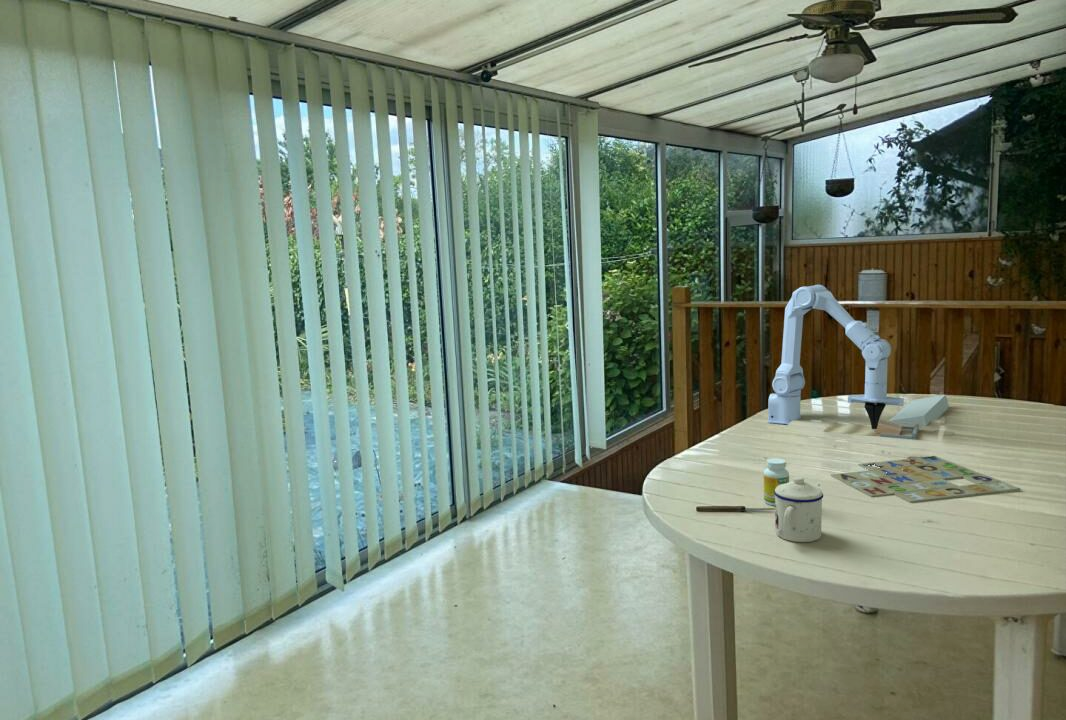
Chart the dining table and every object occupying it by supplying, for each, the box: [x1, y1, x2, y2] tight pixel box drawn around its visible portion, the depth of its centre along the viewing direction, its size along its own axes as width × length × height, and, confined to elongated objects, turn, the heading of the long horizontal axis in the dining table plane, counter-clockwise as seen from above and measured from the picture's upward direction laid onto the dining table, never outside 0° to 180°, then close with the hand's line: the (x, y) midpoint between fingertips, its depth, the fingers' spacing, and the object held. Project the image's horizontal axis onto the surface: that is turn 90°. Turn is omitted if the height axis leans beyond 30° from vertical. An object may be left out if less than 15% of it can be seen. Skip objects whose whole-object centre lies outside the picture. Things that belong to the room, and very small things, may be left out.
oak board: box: [823, 422, 880, 437], centre depth 218 cm, size 15×12×2 cm
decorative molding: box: [887, 394, 950, 427], centre depth 235 cm, size 34×5×10 cm
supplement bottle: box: [763, 457, 790, 507], centre depth 165 cm, size 5×5×10 cm
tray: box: [879, 424, 920, 441], centre depth 212 cm, size 9×12×3 cm
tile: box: [876, 419, 904, 435], centre depth 213 cm, size 6×6×2 cm
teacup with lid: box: [774, 476, 824, 543], centre depth 145 cm, size 12×9×12 cm
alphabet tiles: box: [830, 455, 1021, 504], centre depth 177 cm, size 33×28×1 cm
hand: (874, 428), depth 215 cm, fingers closed
